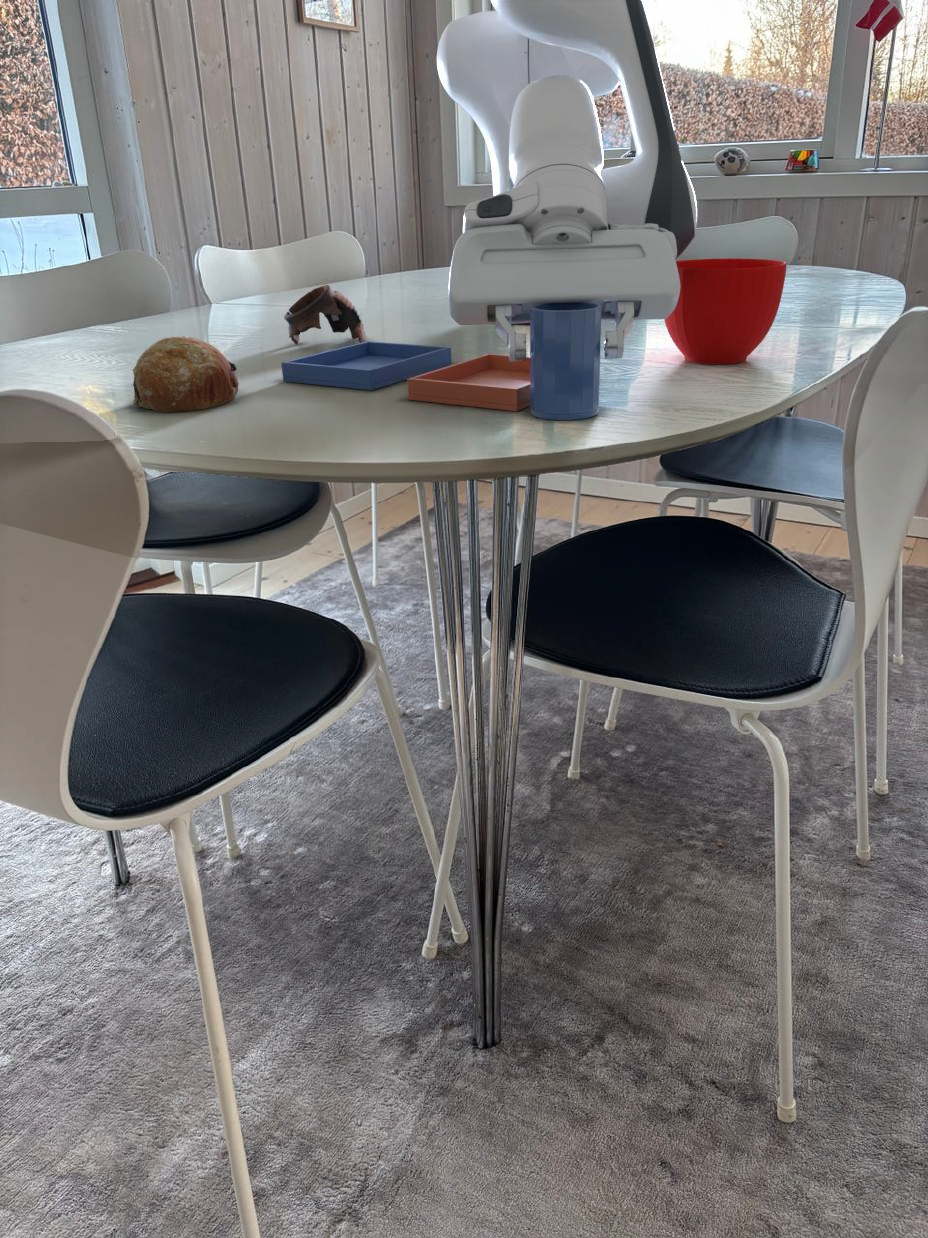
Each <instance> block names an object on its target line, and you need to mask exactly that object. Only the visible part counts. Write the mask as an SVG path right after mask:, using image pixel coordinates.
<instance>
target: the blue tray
mask: <svg viewBox="0 0 928 1238" xmlns="http://www.w3.org/2000/svg"><path fill="white" fill-rule="evenodd" d="M452 361H453V360H452V347H451V346H439V345H425V344H411V343H399V342H397V343H396V342H384V341H383V342H382V341H371V340H369V341H368V340H366V341H365V342H362V343H354V344H351V345H346V346H342V347H339V348H334V349H330V350H326V351H322V352H319V353H314V354H310V355H305V356H302V357H298V358H294V359H290V360H286V361H282V362H281V363H280V365H281V372H282V373H281V374H282V382H287V383H295V384H297V383H298V384H305V385H306V384H307V385H316V386H324V387H325V386H326V387H337V388H343V389H344V388H345V389H355V390H362V391H374V390H377V389H380V388H384V387H387V386H390V385H394V384H396V383H400V382H403V381H407V380H408V379H409V378H412V377H415V376H418V375H421V374H425V373H428V372H431V371H434V370H437V369H441V368H444V367H447V366H450V365H453V362H452Z"/></svg>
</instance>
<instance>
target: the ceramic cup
mask: <svg viewBox="0 0 928 1238" xmlns="http://www.w3.org/2000/svg"><path fill="white" fill-rule="evenodd" d="M675 261H676V265H677V269H678V274H679V279H680V294H679V298H678V302H677V305H676V308H675V310H674V311H673V312H672V313H671V314H670V316H669V317H668V318H666V319H663V320H664V323H665V326H666V329H667V333H668V335H669V336H670V339H671V340H672V342H673V344H674V345H675V346H676V348H677V350H678V351H679V352H680V353H681V354H682V355H683V357H684V359H685V360H686V361H688V362H691V363H697V364H705V365H706V364H707V365H727V364H728V365H729V364H739V363H742V362H745V361H747V358H748V357H749V356H750V355H751V354H752V353H753V352H754V351H755V350H756V349H757V348H758V347H759V346H760V345H761V344H762V342H763V341H764V339H765V338H766V336H767V335H768V333H769V332H770V330H771V328H772V326H773V324H774V322H775V320H776V317H777V314H778V311H779V308H780V304H781V301H782V297H783V291H784V286H785V281H786V274H787V263H786V262H785V261H781V260H775V259H763V258H699V259H683V260H675Z"/></svg>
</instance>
